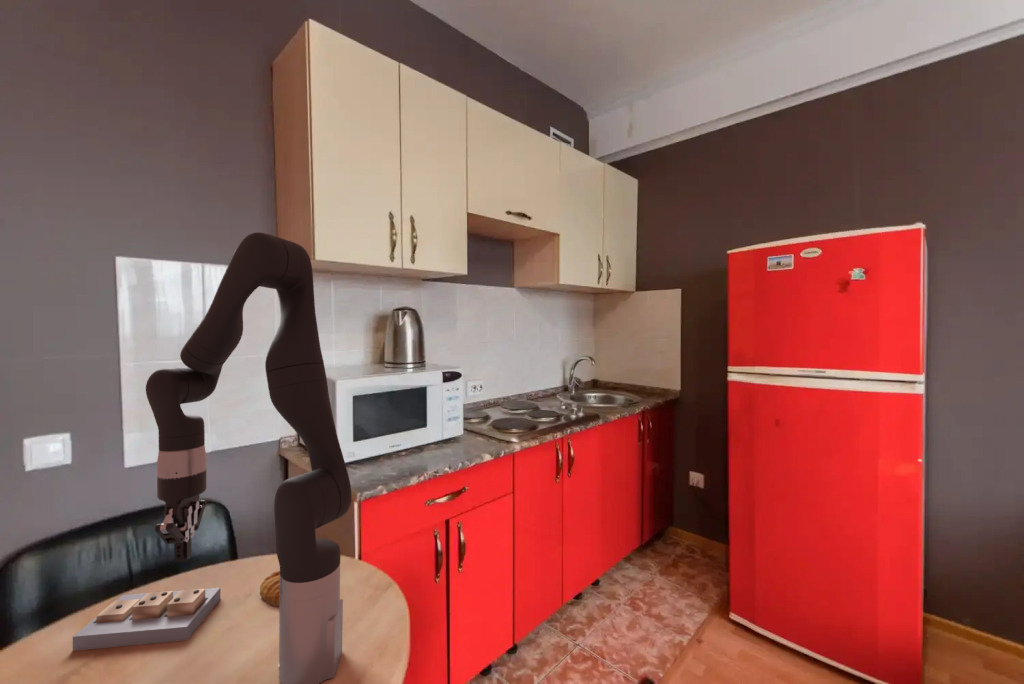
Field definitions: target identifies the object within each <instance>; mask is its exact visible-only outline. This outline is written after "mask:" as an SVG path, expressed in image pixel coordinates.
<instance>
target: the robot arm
mask: <svg viewBox="0 0 1024 684" xmlns="http://www.w3.org/2000/svg"><path fill="white" fill-rule="evenodd" d="M259 287H261V288H267V289H272V290H275V291H276V293H277V297H278V302H279V312H280V319H279V323H278V327H277V330H276V332H275V335H274V336H273V339H272V341H271V344H270V345H269V348H268V351H267V353H266V357H265V363H264V365H265V374H266V381H267V387H268V393H269V398H270V402H271V403H272V405H273V407H274V408H275V410H276V411H277V412H278V414H280V416H281V417H282V419H284V420H285V421H286V422H287V424H288V425H289V426H290V427H291V428H292V429H293V430H294V431H295V432H296V433H297V435H298V436H299V437H300V439H301V440H302V442H303V443H304V446H305V449H306V450H307V455H308V458H309V463H310V468H311V470H310V471H308V472H305V473H302V474H297V475H295V476H292V477H289V478H287V479H285V480H283V481H282V482H281V483H280V484H279V486H277V490H276V492H275V496H274V503H273V505H274V506H273V511H274V517H273V518H274V527H275V529H274V531H275V552H276V557H277V560H278V565H279V571H280V605H279V606H278V607H279V609H278V610H279V618H278V619H279V621H278V623H279V627H278V631H279V632H278V679H279V682H280V684H320V683H322V682H324V681H326V680H329V679H334V678H335V677H336V673H337V669H338V666H339V663H340V661H341V656H342V653H343V621H344V620H343V619H344V617H343V614H344V613H343V612H344V610H343V609H344V605H343V604H344V602H343V601H344V600H343V599H341V547H340V545H339V544H338V543H337V542H336V541H334V540H332V539H328V538H327V539H326V538H319V537H318V538H317V537H316V536H317V535H316V530H317V529H319V528H321V527H324V526H326V525H327V524H330V523H332V522H334V521H335V520H339V519H340V518H342V517H343V516H344V515H345V516H346V514H347V513H348V511H349V510H350V507H351V505H352V499H353V496H352V485H351V481H350V476H349V472H348V469H347V465H346V462H345V459H344V455H343V451H342V448H341V445H340V441H339V437H338V433H337V429H336V425H335V420H334V415H333V410H332V405H331V404H332V403H331V400H330V394H329V389H328V388H329V386H328V385H329V384H328V378H327V374H326V367H325V363H324V362H325V361H324V357H323V355H322V354H323V353H322V349H321V341H320V336H319V329H318V321H317V315H316V306H315V305H316V304H315V290H314V289H315V288H314V287H315V286H314V275H313V266H312V261H311V258H310V255H309V253H308V251H307V250H306V249H305V248H304V247H303V246H302V245H300V244H299V243H296V242H294V241H291V240H287V239H285V238H281V237H278V236H274V235H272V234H268V233H264V232H253V233H250V234H248V235H246V236H245V237H244V238H243V239H242V240H241V242H239V244H238V245H237V247H236V249H235V250H234V252H233V254H232V256H231V258H230V260H229V263H228V265H227V267H226V269H225V272H224V274H223V276H222V277H221V281H220V283H219V284H218V287H217V290H216V292H215V294H214V296H213V298H212V301H211V303H210V305H209V308H208V309H207V312H206V313H205V315H204V317H203V318H202V320H201V321H200V323H199V324H198V326H197V327H196V329H195V330H194V331H193V332H192V334H191V335H190V337H189V338H188V340H187V341H186V343H185V344H184V345H183V347H182V349H181V351H180V354H179V355H180V356H179V357H180V360H181V362H182V363H183V364H184V365H185V366H184V367H166V368H160V369H157V370H155V371H154V372H152V373H151V374H150V375H149V377H148V378H147V381H146V383H145V395H146V398H147V401H148V404H149V405H150V406H149V407H150V409H151V411H152V414H153V418H154V420H155V422H156V425H157V430H158V454H157V458H156V459H157V461H156V493H157V494H156V495H157V496H156V497H157V499H158V500H159V501H162V502H164V503H165V506H164V511H163V515H164V520H163V521H162V523H157V524H156V525H155V528H154V530H155V532H156V533H157V534H158V536H159V537H160V538H161V539H162V541H163V542H164V543H165V544H166V545H172V544H173V547H174V550H173V552H174V553H173V555H174V558H173V559H174V562H178V563H179V562H186V561H187V560H188V559H190V558H191V556H192V538H193V537H194V535H195V531H198V530H199V527H200V525H201V521H202V518H203V515H204V512H205V509H206V505H207V500H206V499H200V497H201V496H200V495H202V494H203V493H205V492H206V490H207V451H206V446H205V441H206V439H205V420H204V418H203V417H202V416H200V415H196V414H185V413H184V411H183V409H182V408H181V407H182V406H181V405H182V404H183V405H184V404H191V403H196V402H201V401H203V400H206V399H207V398H208V397H210V396H211V395H212V394H214V392H215V390H216V388H217V385H218V382H219V378H220V375H221V373H222V369H223V365H224V364H225V363H226V362H227V360H228V359H229V357H230V356H231V355H232V353H233V352H234V351H235V349H236V348H237V347H238V346H239V344H240V341H241V339H242V338H243V337H242V336H243V332H244V314H243V313H244V307H245V304H246V302H247V300H248V298H250V296H251V295H252V294H253V293H254V292H255V290H257V289H258V288H259Z"/></svg>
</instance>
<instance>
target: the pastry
mask: <svg viewBox="0 0 1024 684" xmlns="http://www.w3.org/2000/svg"><path fill="white" fill-rule="evenodd" d="M259 590H260V591H259V595H260V597H261V598H262V600H263V601H265V603H268V604H270V605H272V606H275V607H279V605H280V570H277V571H273V572H272V573H270V574H269V575H268V576H267V577H265V578H264V579H263V581H262V582H261V584H260V587H259Z"/></svg>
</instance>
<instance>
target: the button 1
mask: <svg viewBox="0 0 1024 684" xmlns="http://www.w3.org/2000/svg"><path fill="white" fill-rule="evenodd" d="M138 601H140V599H133V600H120V601H116V600H114V601H113V602H111V603H110V604H109V605H108V606H107V607H105V608H104V609H103V610H102V611H100V612H99V613H98V614H97V615H96V617H97V623H102V622H114V621H125V620H126V619H127V618H128V617H129V616H130V615H131V614H132V607H133V606H134V605H135V604H136V603H137V602H138Z"/></svg>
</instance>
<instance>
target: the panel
mask: <svg viewBox="0 0 1024 684" xmlns="http://www.w3.org/2000/svg"><path fill="white" fill-rule="evenodd" d="M204 589H205V602H204V603H203V604H202V605H201V606H200V607H199V609H198V610H197V611H196V612H195V613H194V614H193V615H185V616H173V617H167V610H166V611H165V612H164V613H163V614H162V615H161V616H160V617H159V618H149V619H137V620H132V614H131V615H130V616H129V617H128V618H127V619H126V620H125V621H114V622H102V623H97V616H96V617H95V618H94V619H92V620H91V621H90V622H89V623H88V624H86V625H85V626H84V627H83V628H81V629H80V630H79V631H78V632H76V634H74V635H73V636H72V651H85V650H96V649H104V648H105V649H106V648H115V647H116V648H117V647H128V646H140V645H148V644H149V645H150V644H159V643H160V644H161V643H168V642H169V643H170V642H182V641H188V640H189V638H190V637H191V635H192V634H194V632H195V631H196V630H197V628H198V627H199V626H200V625H201V624H202V622H203V621H204V620H205V618H206V617H207V616H208V615H209V614H210V612H212V610H213V609H214V608H215V607H216V605H217V604H218V603H219V601H220V600H221V587H212V588H209V587H208V588H204ZM172 591H173V598H174V597H175V596H176V595H177V594H178V593H179V592H180V591H181V590H172ZM147 593H148V592H144V593H133V594H131V593H130V594H123V595H122V596H120V597H119V598H117V599H116V600H115V601H120V600H133V599H140V600H141V599H142V598H143V597H144V596H145V595H146V594H147Z"/></svg>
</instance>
